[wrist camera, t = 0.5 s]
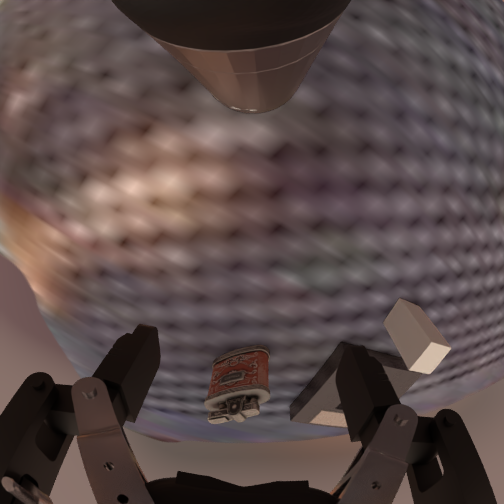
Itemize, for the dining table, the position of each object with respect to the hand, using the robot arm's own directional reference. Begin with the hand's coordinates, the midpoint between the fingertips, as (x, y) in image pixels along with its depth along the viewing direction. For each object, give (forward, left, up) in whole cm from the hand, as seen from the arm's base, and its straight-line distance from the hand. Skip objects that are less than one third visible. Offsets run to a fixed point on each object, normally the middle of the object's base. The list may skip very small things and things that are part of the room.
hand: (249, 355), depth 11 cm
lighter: (+17, +5, -18) cm, 26 cm away
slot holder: (+17, +23, -18) cm, 34 cm away
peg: (+3, +21, -18) cm, 28 cm away
